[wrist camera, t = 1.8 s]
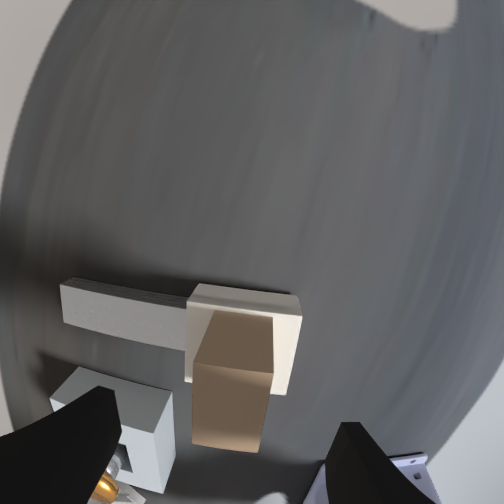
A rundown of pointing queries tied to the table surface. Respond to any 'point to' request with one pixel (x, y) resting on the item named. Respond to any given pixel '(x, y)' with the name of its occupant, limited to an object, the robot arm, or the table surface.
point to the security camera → (123, 495)
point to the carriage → (237, 361)
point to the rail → (125, 312)
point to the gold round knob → (110, 477)
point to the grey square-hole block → (133, 425)
